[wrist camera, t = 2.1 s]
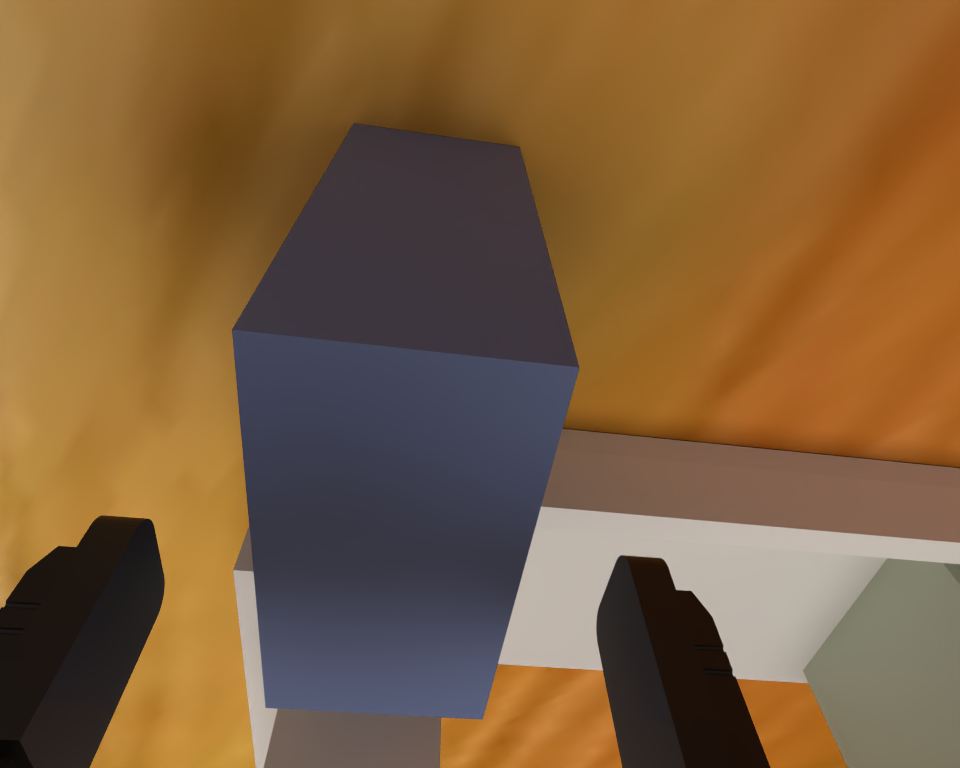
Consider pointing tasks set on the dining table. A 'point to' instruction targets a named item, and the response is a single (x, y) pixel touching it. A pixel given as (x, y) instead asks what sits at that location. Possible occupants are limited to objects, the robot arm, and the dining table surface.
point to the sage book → (895, 670)
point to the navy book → (400, 425)
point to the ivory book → (353, 740)
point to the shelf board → (698, 548)
